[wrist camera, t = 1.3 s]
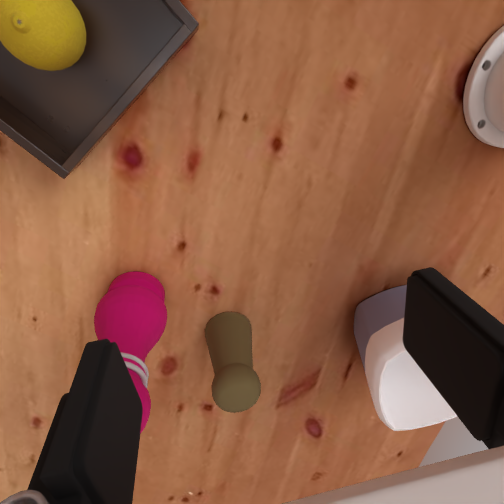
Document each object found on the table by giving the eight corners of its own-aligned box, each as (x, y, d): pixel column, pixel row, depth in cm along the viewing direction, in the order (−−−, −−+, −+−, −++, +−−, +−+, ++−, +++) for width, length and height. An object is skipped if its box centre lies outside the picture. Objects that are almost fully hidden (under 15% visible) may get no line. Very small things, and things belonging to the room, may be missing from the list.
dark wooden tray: (38, -159, 24) (11, -200, 21) (198, 28, 31) (199, 24, 27) (-88, 34, 28) (-132, 30, 24) (77, 166, 34) (63, 179, 30)
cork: (194, 334, 46) (195, 406, 36) (227, 303, 44) (237, 370, 34) (229, 355, 48) (239, 429, 38) (261, 327, 47) (279, 396, 37)
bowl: (346, 373, 53) (381, 443, 43) (330, 292, 46) (368, 354, 36) (445, 343, 53) (502, 405, 43) (446, 256, 46) (515, 308, 36)
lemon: (65, 84, 31) (28, 91, 24) (6, 23, 28) (-55, 10, 21) (111, 39, 30) (87, 32, 23) (54, -29, 27) (7, -60, 20)
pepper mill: (101, 266, 39) (29, 429, 22) (169, 267, 41) (152, 422, 23) (106, 319, 43) (48, 498, 25) (169, 318, 44) (154, 488, 26)
